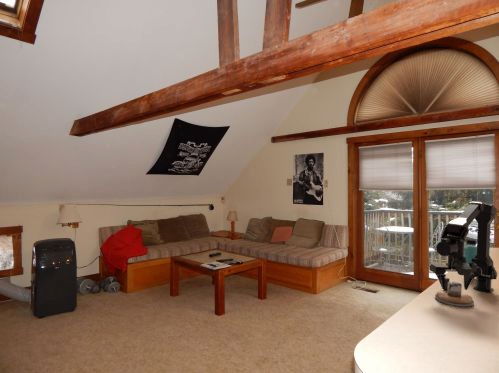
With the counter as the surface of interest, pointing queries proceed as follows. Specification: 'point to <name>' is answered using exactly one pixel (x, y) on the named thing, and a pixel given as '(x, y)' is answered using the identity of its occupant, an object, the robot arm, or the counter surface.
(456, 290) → the cover
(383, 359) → the counter surface
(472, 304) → the base
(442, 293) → the turntable
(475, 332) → the counter surface
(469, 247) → the beverage bottle
